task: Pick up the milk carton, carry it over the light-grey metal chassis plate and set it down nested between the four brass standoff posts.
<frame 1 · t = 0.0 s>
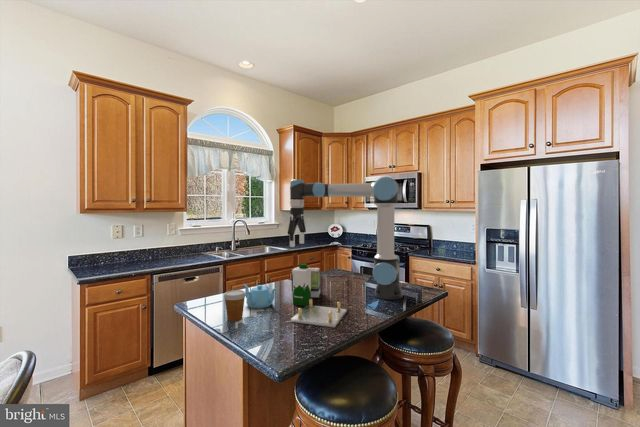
hand: (297, 245, 178), 28 cm above the countertop, fingers open, 13 cm apart
disposable coffee cup: (235, 319, 142), on the countertop
milk carton: (301, 303, 164), on the countertop
chassis: (319, 316, 145), on the countertop
teapot: (258, 306, 159), on the countertop
tea box: (306, 295, 178), on the countertop
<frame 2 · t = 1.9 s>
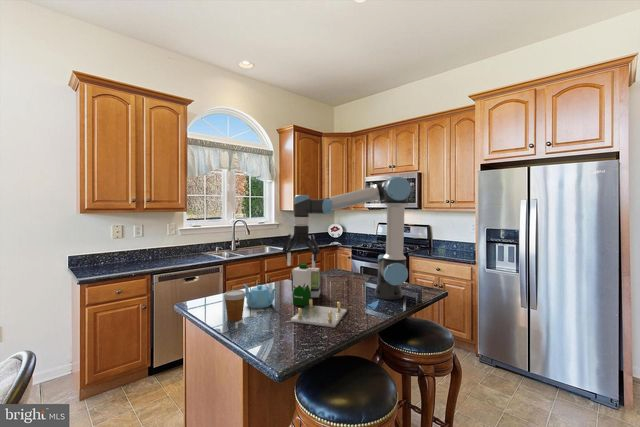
hand: (301, 266, 163), 19 cm above the countertop, fingers open, 13 cm apart
nothing on the countertop moved.
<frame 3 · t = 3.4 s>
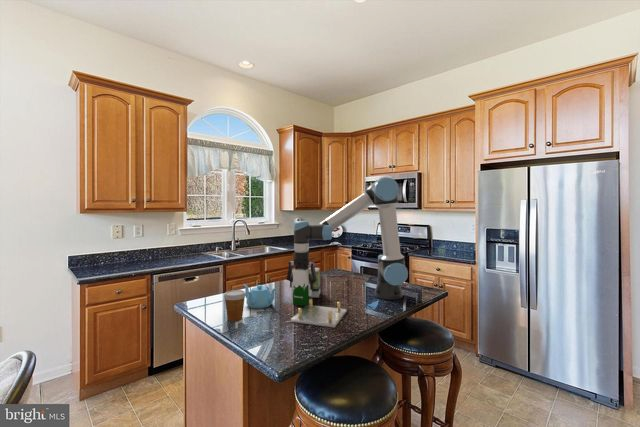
hand: (301, 294, 164), 4 cm above the countertop, fingers closed on milk carton, 9 cm apart
milk carton: (301, 303, 164), on the countertop, touching gripper
everything else where it was.
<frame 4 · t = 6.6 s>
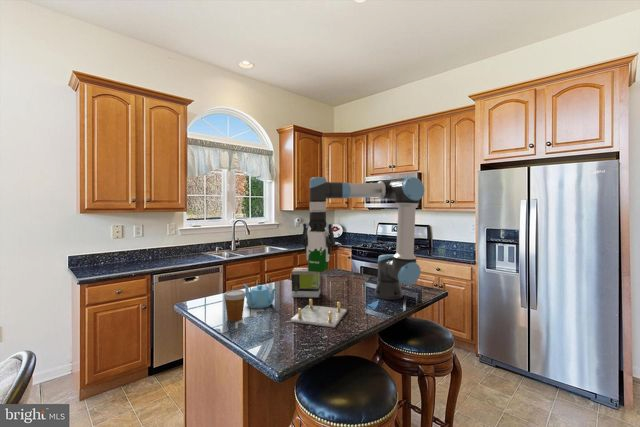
hand: (317, 260, 145), 25 cm above the countertop, fingers closed on milk carton, 9 cm apart
milk carton: (317, 270, 145), point 21 cm above the countertop, touching gripper
everything else where it was.
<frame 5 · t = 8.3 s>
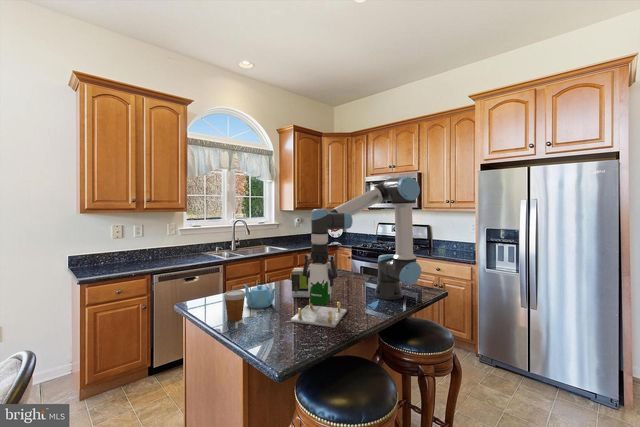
hand: (319, 292, 144), 11 cm above the countertop, fingers closed on milk carton, 9 cm apart
milk carton: (319, 302, 144), point 6 cm above the countertop, touching gripper
everything else where it was.
when the fingers open (7 cm above the countertop, at t = 9.5 s): milk carton drops 2 cm, resting on chassis.
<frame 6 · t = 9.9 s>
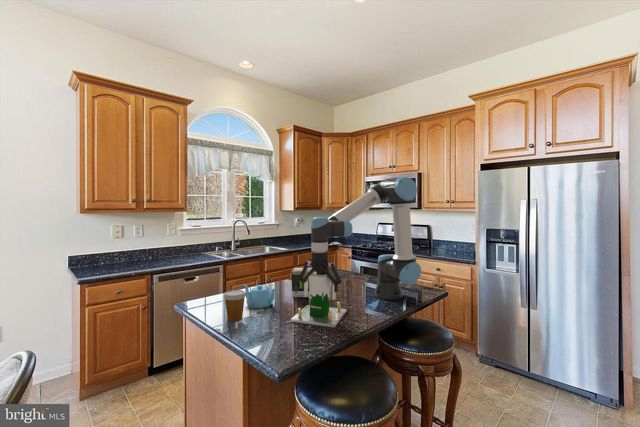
hand: (319, 297, 144), 9 cm above the countertop, fingers open, 13 cm apart
milk carton: (319, 314, 145), point 1 cm above the countertop, touching chassis
everything else where it was.
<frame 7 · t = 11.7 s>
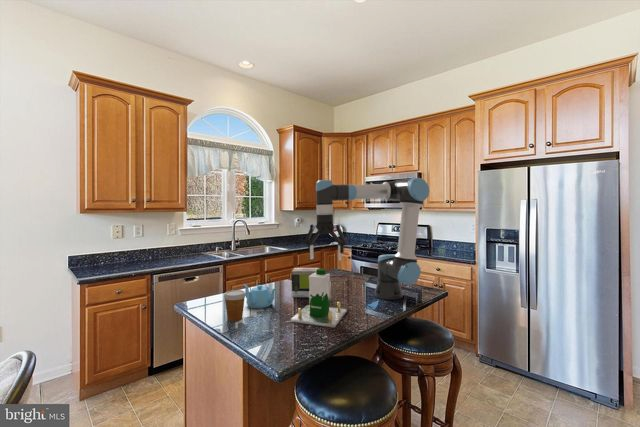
hand: (325, 259, 147), 26 cm above the countertop, fingers open, 13 cm apart
nothing on the countertop moved.
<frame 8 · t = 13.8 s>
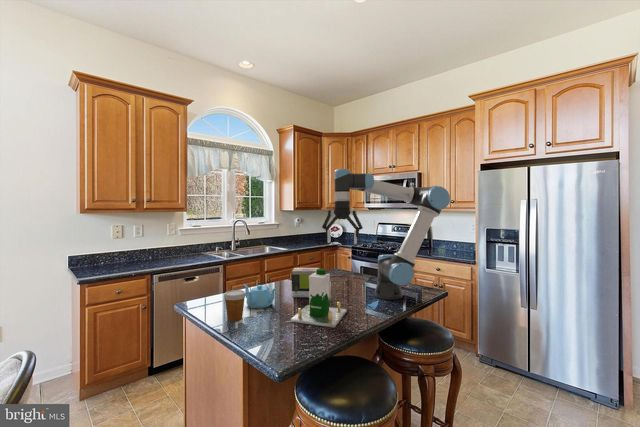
hand: (342, 243, 158), 32 cm above the countertop, fingers open, 13 cm apart
nothing on the countertop moved.
at the end: milk carton 0.2 cm off-centre on the chassis, point 1.0 cm above the chassis's base; milk carton tilted 0°; the gripper is holding nothing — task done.
